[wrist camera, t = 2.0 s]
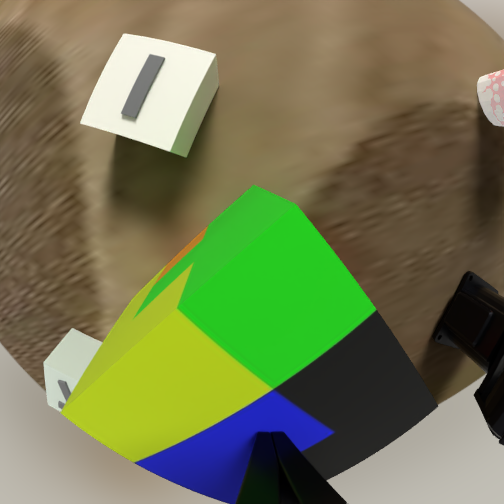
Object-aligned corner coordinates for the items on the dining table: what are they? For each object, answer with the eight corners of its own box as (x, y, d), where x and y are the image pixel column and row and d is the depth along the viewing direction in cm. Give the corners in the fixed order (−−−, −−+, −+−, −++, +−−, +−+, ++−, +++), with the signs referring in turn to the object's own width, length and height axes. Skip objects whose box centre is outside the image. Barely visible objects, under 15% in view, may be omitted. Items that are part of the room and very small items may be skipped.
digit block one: (219, 85, 14) (215, 52, 9) (186, 157, 14) (168, 151, 10) (148, 65, 13) (122, 31, 8) (116, 134, 14) (78, 122, 9)
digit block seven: (127, 352, 17) (106, 396, 13) (119, 391, 18) (102, 434, 14) (72, 327, 17) (42, 364, 12) (70, 369, 18) (47, 406, 13)
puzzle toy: (240, 389, 19) (250, 509, 9) (132, 298, 16) (60, 412, 7) (353, 304, 18) (438, 406, 8) (253, 184, 15) (296, 204, 6)
